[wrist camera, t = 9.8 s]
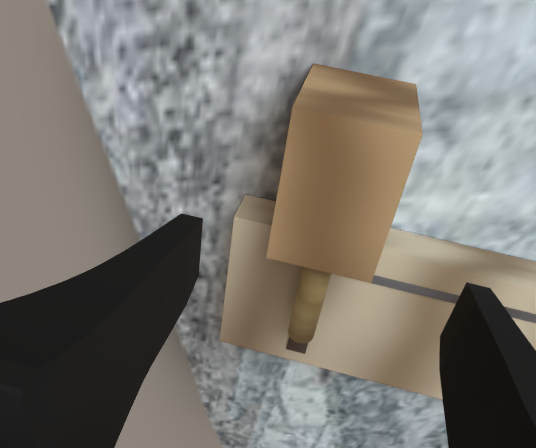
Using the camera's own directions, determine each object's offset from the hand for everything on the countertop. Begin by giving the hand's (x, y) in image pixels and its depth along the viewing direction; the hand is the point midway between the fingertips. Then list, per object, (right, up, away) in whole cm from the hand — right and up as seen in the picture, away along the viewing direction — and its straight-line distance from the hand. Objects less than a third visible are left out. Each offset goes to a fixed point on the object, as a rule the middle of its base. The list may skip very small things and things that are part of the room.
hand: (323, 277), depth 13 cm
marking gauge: (+1, +3, +9) cm, 9 cm away
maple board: (+7, -3, +11) cm, 13 cm away
